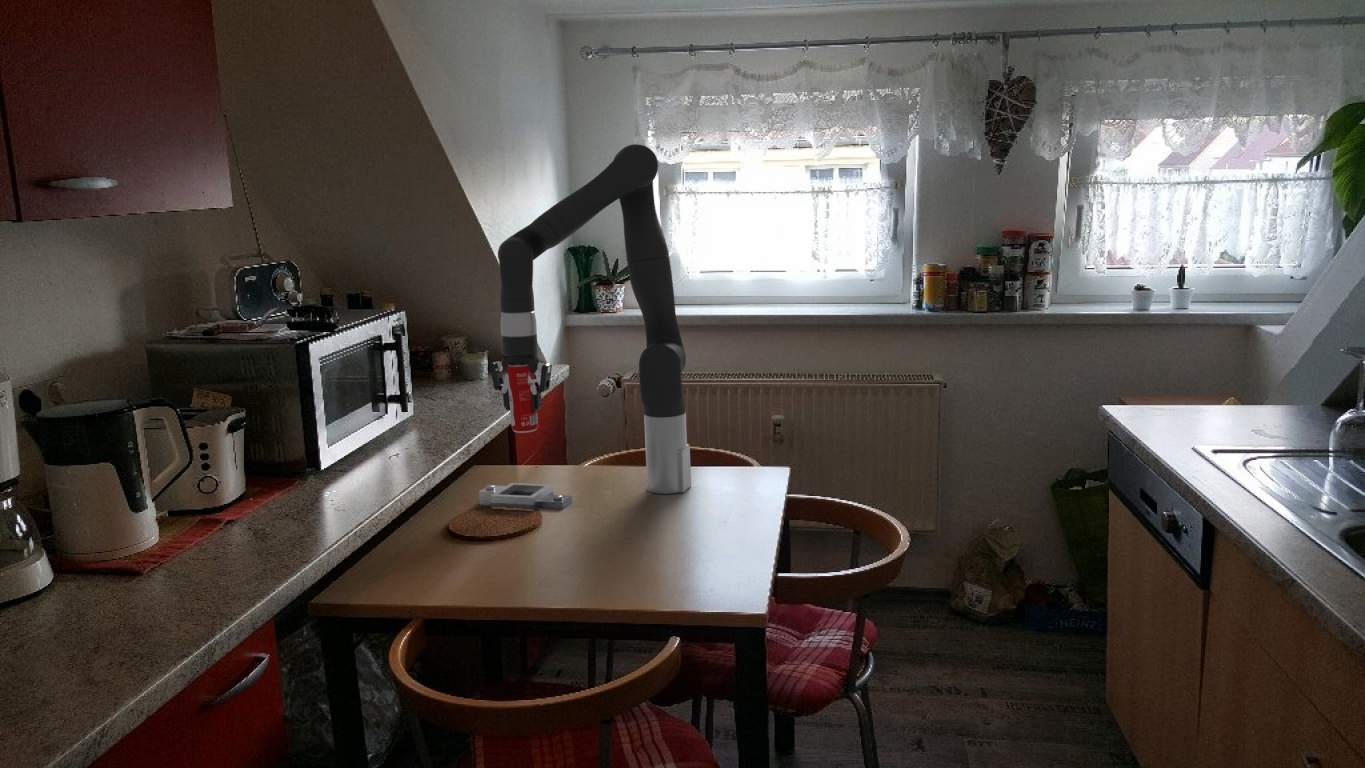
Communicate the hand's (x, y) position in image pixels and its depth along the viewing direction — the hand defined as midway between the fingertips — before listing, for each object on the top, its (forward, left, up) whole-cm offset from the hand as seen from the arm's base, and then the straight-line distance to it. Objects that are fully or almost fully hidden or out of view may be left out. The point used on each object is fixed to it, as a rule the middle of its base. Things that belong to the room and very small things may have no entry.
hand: (522, 410), depth 210 cm
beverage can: (0, 0, -5) cm, 5 cm away
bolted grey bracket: (0, +3, -20) cm, 20 cm away
